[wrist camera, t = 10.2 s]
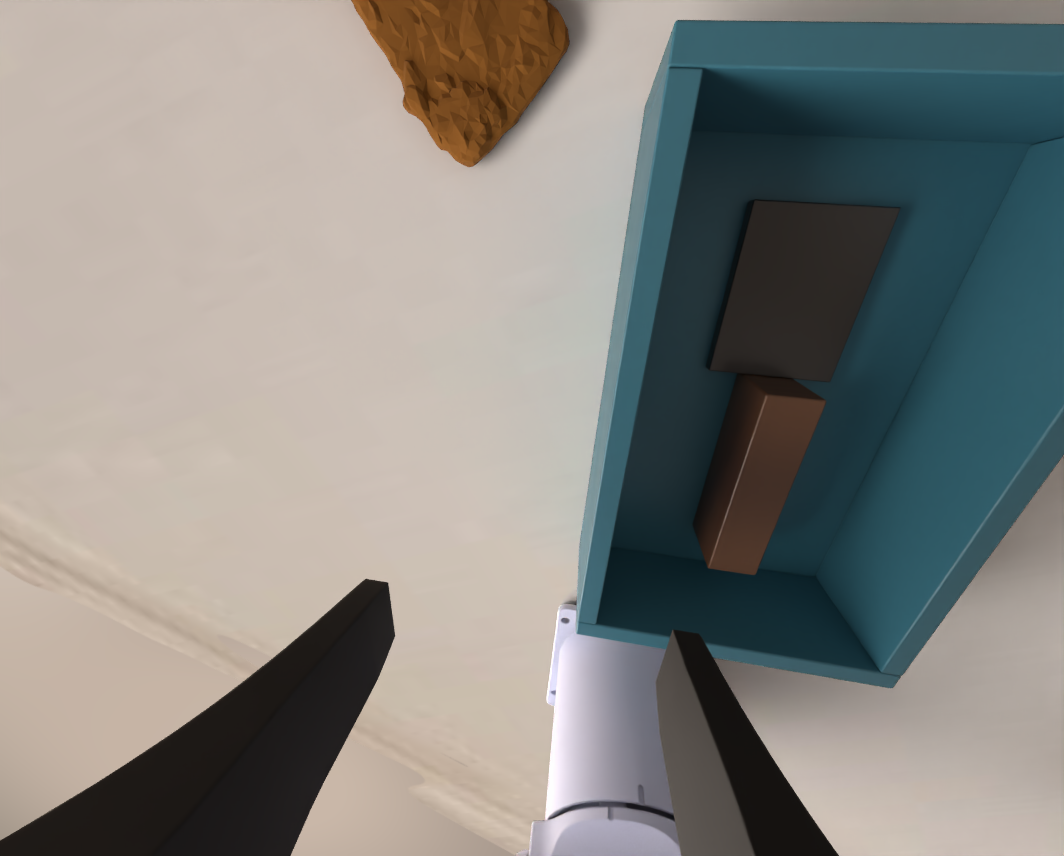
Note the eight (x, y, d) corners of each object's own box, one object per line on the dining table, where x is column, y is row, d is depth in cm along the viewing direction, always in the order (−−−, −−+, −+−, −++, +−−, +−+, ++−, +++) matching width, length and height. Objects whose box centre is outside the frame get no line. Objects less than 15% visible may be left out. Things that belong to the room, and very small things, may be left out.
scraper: (760, 534, 19) (788, 581, 16) (664, 521, 20) (676, 564, 17) (889, 209, 13) (965, 198, 10) (747, 200, 14) (785, 188, 11)
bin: (820, 582, 20) (893, 689, 15) (579, 547, 22) (575, 634, 17) (1057, 118, 12) (1379, 25, 7) (645, 104, 13) (675, 18, 8)
